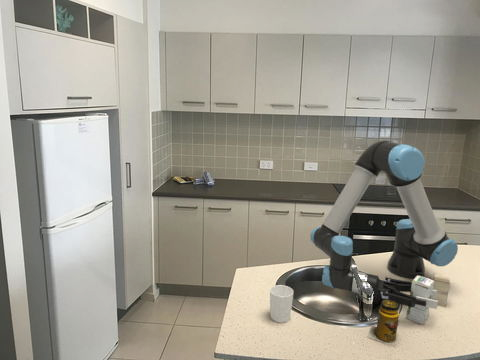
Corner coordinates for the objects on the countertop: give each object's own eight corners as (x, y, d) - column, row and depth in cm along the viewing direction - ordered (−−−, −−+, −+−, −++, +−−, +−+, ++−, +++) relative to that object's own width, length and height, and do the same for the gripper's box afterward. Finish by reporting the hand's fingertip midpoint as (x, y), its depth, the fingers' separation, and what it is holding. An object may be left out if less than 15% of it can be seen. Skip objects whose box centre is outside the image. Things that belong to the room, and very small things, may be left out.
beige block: (430, 297, 150) (434, 273, 148) (445, 300, 148) (449, 276, 146) (430, 304, 146) (434, 279, 143) (445, 307, 144) (449, 282, 141)
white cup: (285, 309, 139) (286, 283, 137) (295, 321, 132) (297, 294, 130) (264, 313, 137) (266, 286, 134) (274, 325, 130) (276, 298, 127)
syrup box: (410, 311, 140) (416, 274, 137) (428, 317, 137) (434, 279, 133) (405, 318, 136) (411, 280, 132) (423, 325, 132) (430, 286, 129)
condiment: (395, 346, 121) (399, 311, 118) (366, 337, 125) (370, 303, 122) (398, 334, 127) (402, 300, 124) (371, 326, 131) (375, 293, 128)
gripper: (368, 281, 151) (434, 296, 142) (361, 306, 133) (436, 324, 124) (370, 263, 149) (437, 277, 140) (363, 286, 132) (439, 303, 123)
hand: (436, 299), depth 132 cm, fingers closed on syrup box, 7 cm apart
